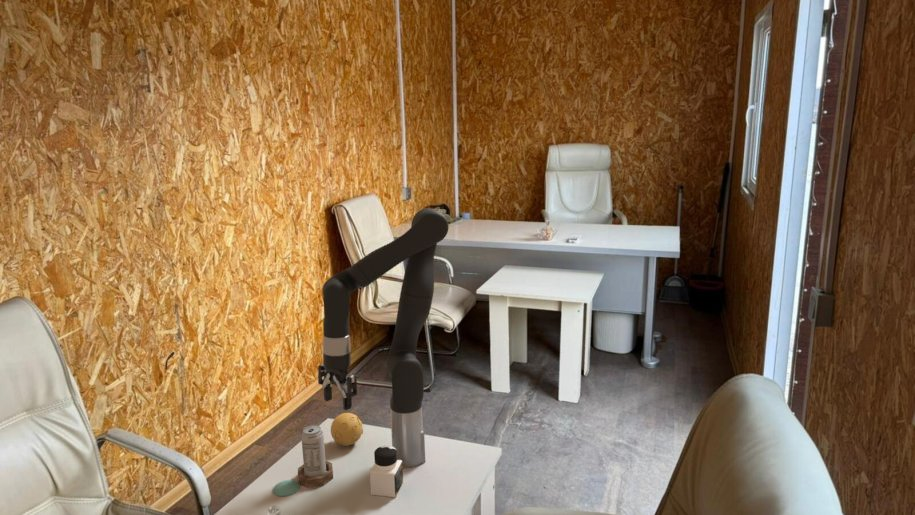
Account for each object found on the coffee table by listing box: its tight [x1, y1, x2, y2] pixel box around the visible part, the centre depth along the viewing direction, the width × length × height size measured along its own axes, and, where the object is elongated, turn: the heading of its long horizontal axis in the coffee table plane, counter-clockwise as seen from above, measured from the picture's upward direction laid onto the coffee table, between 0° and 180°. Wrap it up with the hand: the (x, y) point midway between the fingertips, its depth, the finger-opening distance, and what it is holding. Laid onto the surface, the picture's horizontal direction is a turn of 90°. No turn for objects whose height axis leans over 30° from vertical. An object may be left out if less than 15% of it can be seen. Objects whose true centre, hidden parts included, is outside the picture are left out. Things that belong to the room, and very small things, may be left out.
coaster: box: [272, 479, 300, 497], centre depth 169 cm, size 7×7×1 cm
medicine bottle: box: [369, 445, 404, 498], centre depth 167 cm, size 7×7×12 cm
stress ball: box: [330, 412, 364, 447], centre depth 190 cm, size 10×10×10 cm
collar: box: [297, 460, 334, 489], centre depth 174 cm, size 10×10×2 cm
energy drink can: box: [300, 424, 327, 478], centre depth 172 cm, size 6×6×15 cm
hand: (337, 404), depth 173 cm, fingers open, 8 cm apart
